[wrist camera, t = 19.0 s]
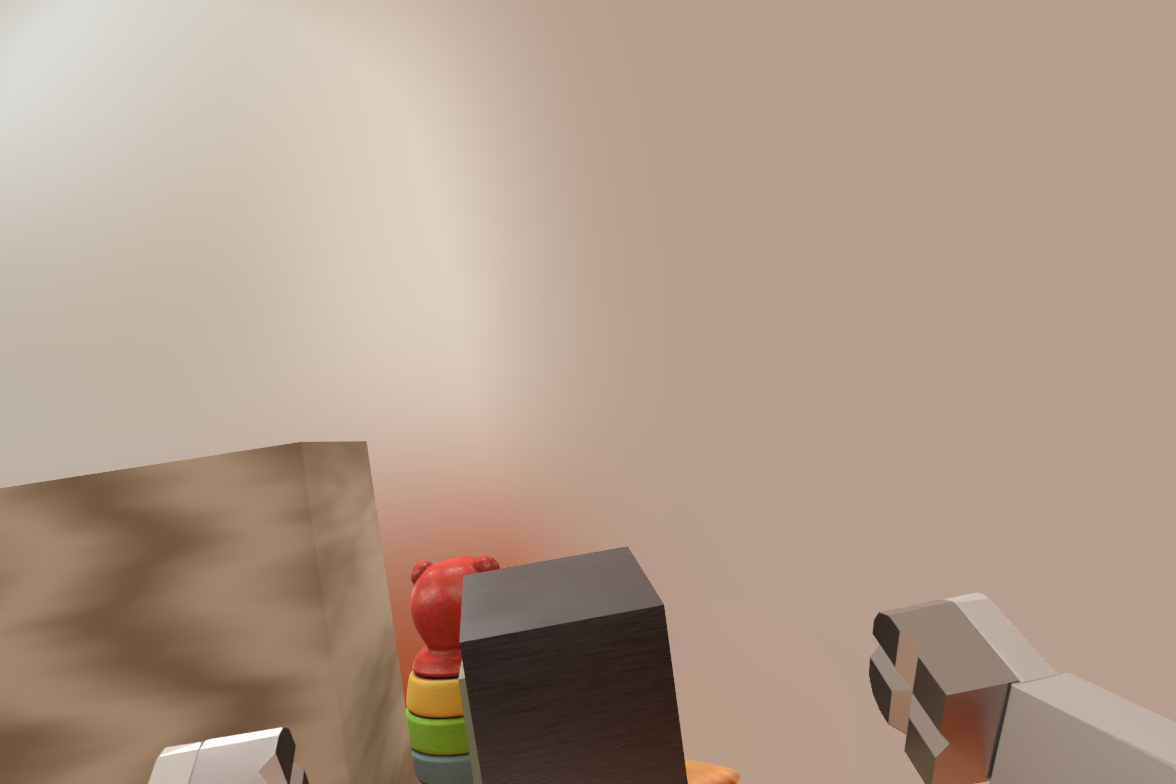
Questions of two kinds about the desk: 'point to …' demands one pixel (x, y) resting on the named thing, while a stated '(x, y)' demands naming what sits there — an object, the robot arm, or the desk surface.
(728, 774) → the desk surface
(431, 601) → the stacking bear
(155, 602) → the stand
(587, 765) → the grey t-shaped piece
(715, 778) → the desk surface
